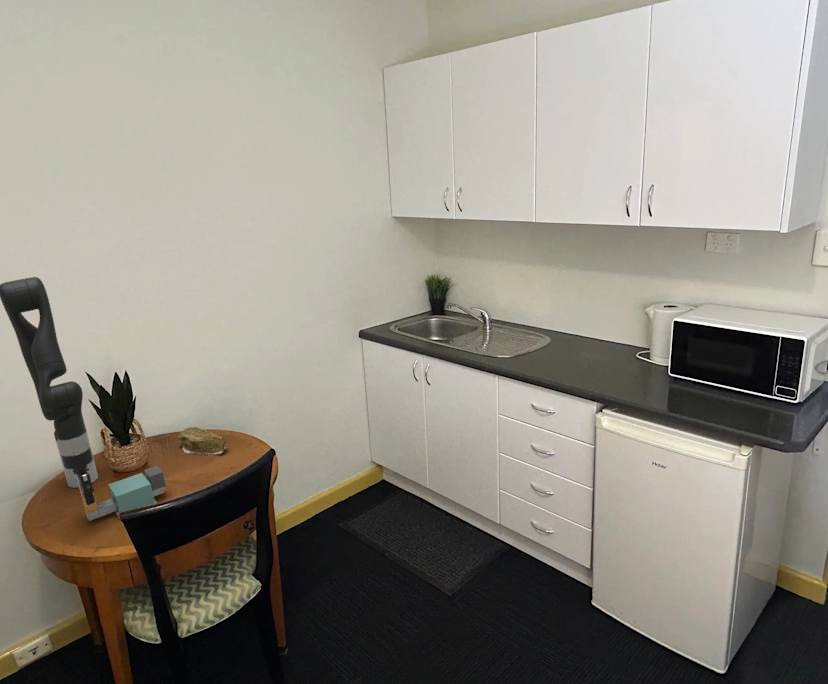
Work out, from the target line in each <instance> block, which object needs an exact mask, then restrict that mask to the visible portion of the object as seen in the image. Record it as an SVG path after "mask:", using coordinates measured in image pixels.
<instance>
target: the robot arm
mask: <svg viewBox="0 0 828 684" xmlns="http://www.w3.org/2000/svg"><path fill="white" fill-rule="evenodd" d="M45 287H46V286H45V285H44V283H43V280H41V279H40V278H39V277H37V276H33V277H26V278H22V279H21V278H20V279H15V280H10V281H5V282H2V283H0V300H1V303H2V305H3V307H4V310H5V312H6V314H7V317H8V320H9V322H10V323H11V324H10V325H12V328H13V330H14V332H15V336H16V339H17V342H18V345H19V348H20V352H21V354H22V358H23V359H24V363H25V365H26V367H27V370H28V371H29V374H30V376H31V379H32V381H33V384H34V388H35V391H36V395H37V399H38V402H39V407H40V409H41V413H42V414H43V417H44V419H46V420H47V421H51V422H52V421H53V428H54V432H53V434H54V435H53V436H54V438H55V442H56V447H57V450H58V453H59V457H60V460H61V464H62V468H63V472H64V476H65V478H66V479H65V480H66V482H67V486H68V488H71V489H72V488H75V489H76V488H79V487H80V488H82V491H83V494H84V497H85V500H86V504H87V505H90V504H93V503H95V500H96V498H95V499H94V496H95V494H94V495H93V492H95V489H94V486H93V483H94V482H95V481H97V480H98V478H99V475H98V470H97V466H96V463H95V460H94V459H95V458H94V455H93V452H92V447H91V443H90V440H89V436H88V432H87V429H86V425H85V421H84V416H83V412H82V407H83V405H82V404H83V398H84V397H83V394H84V392H83V389H82V387H81V386H80V384H79V383H77V382H76V381H67V382H63V383H59V384H56V385H51V383H52V381H54V380H55V379H58V378H59V377H62V376H63V375H65V374H66V373H67V371H68V370H67V365H66V363H65V360H64V357H63V354H62V352H61V349H60V345H59V341H58V338H57V337H58V336H57V331H56V327H55V322H54V317H53V313H52V308H51V304H50V300H49V297H48V293H47V290H46V288H45ZM36 310H38V314H39V321H38V327H37V326H35V325H34V324H32V323H30V321H28V320H27V319H26V318H25V316H24V315H23V314H22V313H27V312H31V311H36ZM78 485H79V486H78ZM86 486H89V487H90V488H89V489H86V490H85V487H86Z"/></svg>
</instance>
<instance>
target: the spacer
mask: <svg viewBox="0 0 828 684" xmlns="http://www.w3.org/2000/svg"><path fill="white" fill-rule="evenodd" d="M144 476H145V477H146V479H147V480H148V481H149V482H150V484H151V487H152V490H153V491H154V490H157V489H159V488H162V487H164V488H166V486H167V485H166V480H165V474H164V472H163V470H162V469H161V468H160V467H159V466H158V465H155V466H151V467H149V468H146V469H144Z"/></svg>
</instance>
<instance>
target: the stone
mask: <svg viewBox="0 0 828 684" xmlns="http://www.w3.org/2000/svg"><path fill="white" fill-rule="evenodd" d="M176 439H177V442H178V443H179V444H180V445H181V447H182V451H183V452H184V454H185V453H186V452H187V453H186V454H193V453H197V454H196V455H202V454H201V453H204V454H208V455H210V453H211V454H213V455H220V454H222V453H223V452H224V451H225V450H227V447H226V446H225V444H226V443H227V438H226V436H221V435H219V434H215V433H214V432H213V431H208V430H206V429H201V428H200V427H198V426H190V427H187V428H184V429H183V431H181V432H179V433H178V435H177V436H176ZM198 453H199V454H198ZM204 454H203V455H204Z"/></svg>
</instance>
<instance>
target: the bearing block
mask: <svg viewBox="0 0 828 684" xmlns="http://www.w3.org/2000/svg"><path fill="white" fill-rule="evenodd" d="M108 489H109V493H110V496H111V498H114V499H115V500H116V503H117V507H118V510H117V511H114V512H115V514H116V516H118V515H119V513H121V512H124V511H128V510H132V509H136V508H139V507H145V506H149V505H152V504H158V501H157V500H156V499H155V496H153V492H152V487H151V484H150V482H149V481H148V480H147V479H146V475H145V474H143V472H140V473H137V474H135V475H132V476H128V477H126V478H123V479H121V480H117V481H114V482H111V483H108Z"/></svg>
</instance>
